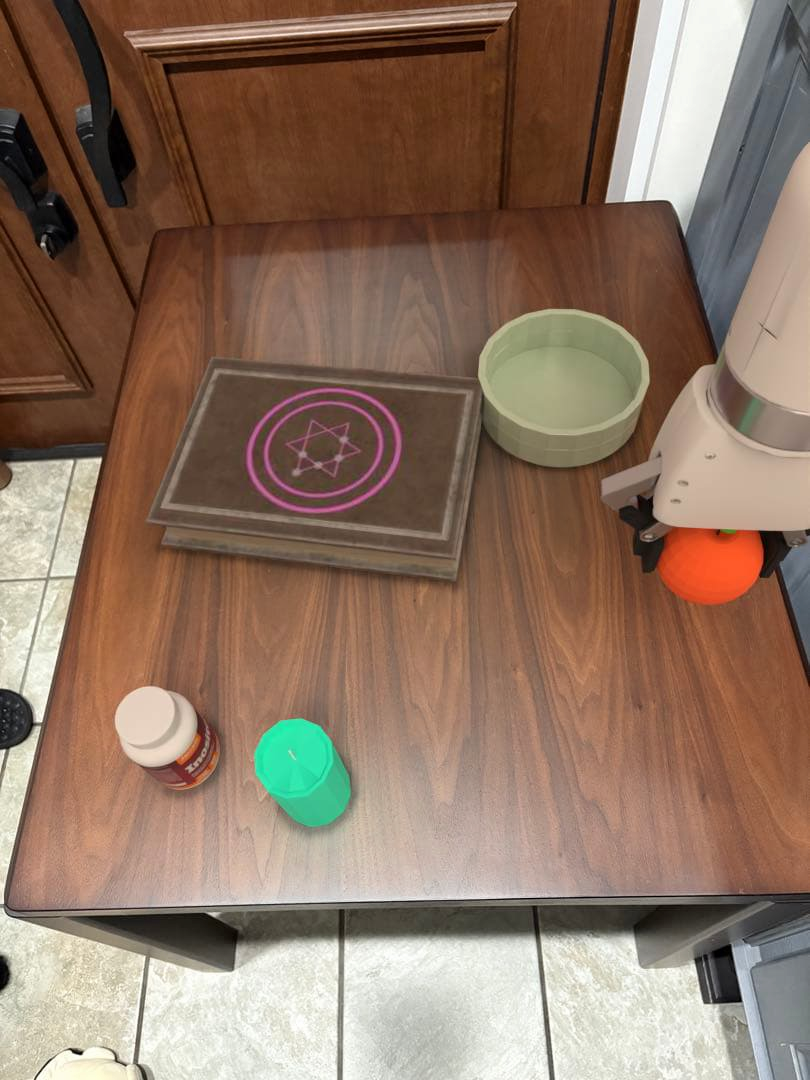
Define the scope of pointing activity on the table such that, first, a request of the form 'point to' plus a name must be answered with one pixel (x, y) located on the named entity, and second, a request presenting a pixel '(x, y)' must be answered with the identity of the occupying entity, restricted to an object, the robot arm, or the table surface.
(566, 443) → the bowl
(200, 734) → the pill bottle
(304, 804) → the candle
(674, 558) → the clementine
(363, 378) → the book
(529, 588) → the table surface
